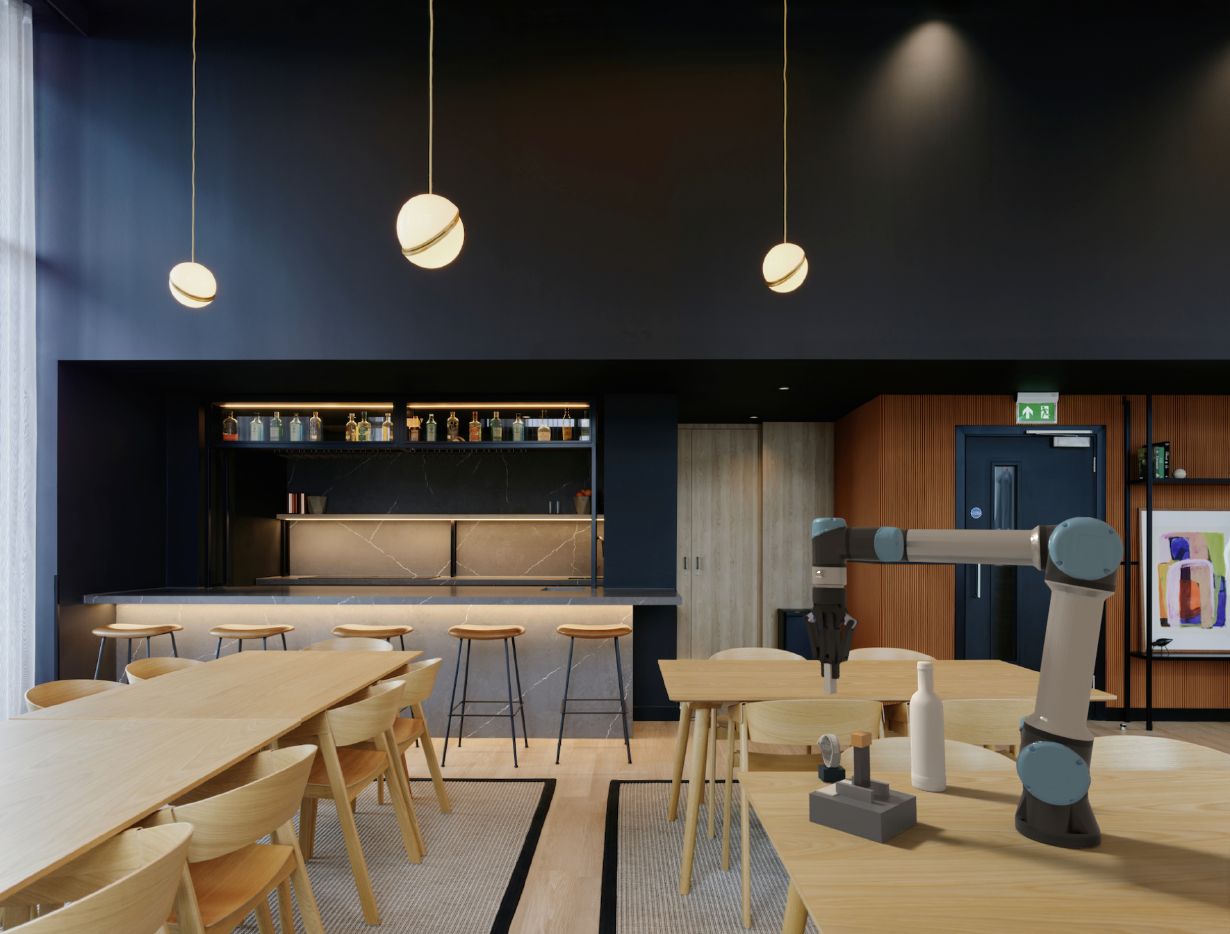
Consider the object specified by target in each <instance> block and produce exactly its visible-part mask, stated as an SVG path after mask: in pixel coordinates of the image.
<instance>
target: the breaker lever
mask: <svg viewBox="0 0 1230 934" xmlns="http://www.w3.org/2000/svg"><path fill="white" fill-rule="evenodd" d="M872 739H873V738H872V732H870V731H864V730H860V731H857V732H852V733H851V734H850V743H851V744H850V746H851V747H853V775H854V785H855V786H859V787H863V788H869V787H871V786H870V779H871V753H870V752H871V747H870V746H872V745H873V740H872Z"/></svg>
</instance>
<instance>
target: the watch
mask: <svg viewBox="0 0 1230 934" xmlns="http://www.w3.org/2000/svg"><path fill="white" fill-rule="evenodd" d="M840 744H841V743H840V740H839V737H838V736H837V734H833V733H825V734H822V735H821V736H820V737H819V738H818V740H817V741H816V745H818V746H819V750H820V753H821V754H822V759H823V762H824V764H817V775H818V777H817V778H819V780H821V781H822V782H823V783H826V784H827V783H832V784H834V783H836V782H838V781H842V780H844V779H847V777H846V772H847V771H846V768H844V767H843V766H842V765H840V764H841V760H842V758H841V757H842V754H841V745H840Z"/></svg>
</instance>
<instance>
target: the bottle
mask: <svg viewBox="0 0 1230 934" xmlns="http://www.w3.org/2000/svg"><path fill="white" fill-rule="evenodd" d="M916 663H917V666H916V670H917V691H915V692H914V693H913V694H912V696H911V698H910V702H909V728H910V729H909V730H910V731H909V732H910V764H911V766H910V768H911V770H910V780H911V785H912V787H914V788H915V789H917V790H920V791H925V792H930V793H931V792H932V793H941V792H944V791H946V790H947V774H946V770H947V769H946V748H945V747H946V746H945V744H946V743H945V719H944V717H945V716H944V703H943V701H942V699H941V697H940V696H939V694H937V693H936V692H935V690H934V686H935V685H934V683H935V682H934V670H935V668H934V663H933V662H931V661H927V660H926V661H925V660H924V661H923V660H921V661H920V660H918V661H917V662H916Z"/></svg>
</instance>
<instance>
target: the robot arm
mask: <svg viewBox="0 0 1230 934" xmlns="http://www.w3.org/2000/svg"><path fill="white" fill-rule="evenodd" d="M846 522H847V521H846V519H844V518H842V517H817V518H814V520H813V521H812V522H811V523H812V525H811V526H812V527H811V537H810V539H811V558H812V559H811V563H812V564H811V573H812V575H811V576H812V577H811V580H812V582H811V583H812V584H813V585H814V586H813V587H812V589H811V590H812V591H811V592H812V593H811V600H812V604H813V605H812V607H811V612H809V613H808V614H806V615H803V616H802V618H801V619H802V621H803V622H804V624H805V626H806V631H807V636H808V641H809V645H810V650H811V651H810V652H811V654H812V655H811V656H812V658H813V659H814V660H817V661H819V662H820V676H821V678H823V681H824V682H823V683H824V684H823V685H824V686H823V687H824V688H823V689H824V690H823V691H824V694H825V695H830V696H831V695H835V694H837V691H838V687H837V686H838V685H837V680H839V679H840V676H841V674H840V673H841V672H840V671H841V668H840V665H841V663H842V664H843V663H845V662H848V661H849V656H850V652H851V648H852V647H851V646H852V641H853V637H854V633H855V629H856V627H857V626H858V624H859V619H857V618H853V617H852V616H851V615H850V614H849V611H848V608H847V602H848V596H847V593H848V592H847V591H848V589H847V588H846V587H845V586H846V585H847V584H848V583H847V582H848V581H847V580H848V579H847V578H848V577H847V562H848V561H863V562H864V561H866V562H867V561H868V562H883V563H889V562H914V563H915V562H917V563H920V562H921V563H942V564H943V563H944V564H945V563H946V564H950V563H951V564H973V565H974V564H975V565H1007V566H1008V565H1009V566H1010V565H1011V566H1033V567H1035V568H1036V569H1037V570H1038V571H1045V574H1044V583H1045V585H1046V586H1047V587H1049V589H1050V590H1051V595H1050V602H1049V603H1050V604H1049V610H1048V616H1047V623H1046V630H1045V637H1044V643H1043V650H1042V657H1041V664H1040V672H1039V678H1038V685H1037V691H1036V697H1035V698H1036V700H1035V705H1034V706H1035V707H1034V711H1033V713H1031V714H1029V715H1028V716H1022V717H1021V718H1020V722H1019V723H1020V724H1019V727H1018V730H1019V732H1020V744H1019V751H1018V752H1019V753H1018V756H1017V759H1016V765H1015V766H1016V772H1017V775H1018V777H1019V779H1020V781H1021V783H1022V792H1021V795H1020V798H1019V801H1018V805H1017V808H1016V810H1015V814H1014V827H1015V830H1016V831H1017V832H1018V833H1020V834H1022V835H1023V836H1025V837H1027V838H1030V839H1033V840H1034V841H1037V842H1040V843H1044V844H1048V845H1053V846H1057V847H1064V848H1071V849H1072V848H1073V849H1090V848H1091V849H1092V848H1095V847H1098V846H1100V845H1101V843H1102V837H1101V835H1102V834H1101V833H1102V832H1101V829H1100V826H1099V824H1098V821H1097V819H1096V816H1095V813H1094V811H1093V808H1092V806H1091V803H1090V800H1089V799H1090V798H1089V790H1090V786H1091V782H1092V777H1091V771H1090V770H1091V764H1092V755H1093V754H1092V753H1093V747H1094V740H1095V736H1094V735H1093V734H1092V732H1091V731H1090V729H1088V726H1087V721H1088V715H1089V714H1088V713H1089V707H1090V701H1091V693H1092V686H1093V679H1094V673H1095V667H1096V661H1097V660H1096V658H1097V653H1098V647H1099V646H1098V644H1099V638H1100V631H1101V624H1102V617H1103V611H1104V602H1105V601H1106V599H1108V598H1111V596H1114V595H1115V593H1116V588H1117V581H1118V574H1119V567H1120V565H1121V563H1122V561H1123V558H1124V552H1125V551H1124V550H1125V549H1124V543H1123V541H1122V538H1121V536H1120V535H1119V533H1118V531H1116V529H1114V527H1113V526H1112V525H1110V524H1108V523H1107V522H1105V521H1103V520H1102V519H1099V518H1094V517H1089V516H1088V517H1087V516H1085V517H1084V516H1077V517H1076V516H1075V517H1072V518H1071V517H1070V518H1069V519H1068V518H1067V519H1066V520H1064V521H1062V522H1061V523H1059V524H1052V525H1050V524H1049V525H1037V526H1036V527H1034V528H1033V529H937V528H936V529H934V528H932V529H930V528H928V529H927V528H925V529H920V528H919V529H918V528H915V529H914V528H913V529H911V528H906V529H905V528H899V527H896V526H894V527H893V526H886V525H885V526H854V527H853V526H848V525H847V523H846ZM817 624H818V625H817ZM843 624H844V628H843V631H842V625H843ZM841 632H842V633H841ZM841 634H842V637H841Z"/></svg>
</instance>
